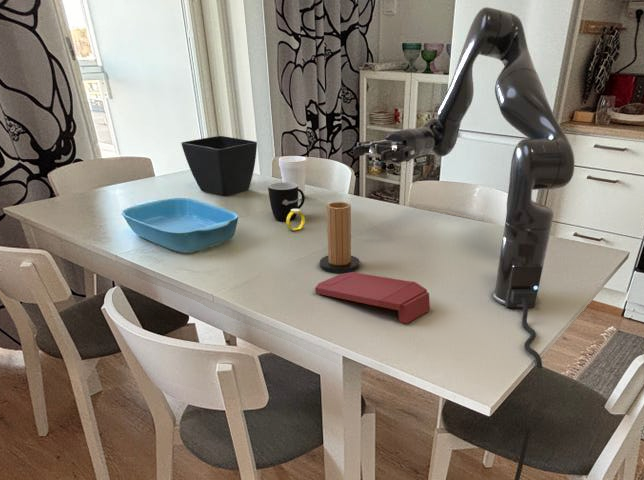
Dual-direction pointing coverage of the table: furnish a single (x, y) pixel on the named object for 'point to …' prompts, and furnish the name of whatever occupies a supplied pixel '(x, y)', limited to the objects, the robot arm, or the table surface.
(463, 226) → the table surface
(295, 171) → the foam cup
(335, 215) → the wooden tube
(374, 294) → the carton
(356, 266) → the stand
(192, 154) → the flower pot
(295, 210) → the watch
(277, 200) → the mug
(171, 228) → the casserole dish
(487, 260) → the table surface
